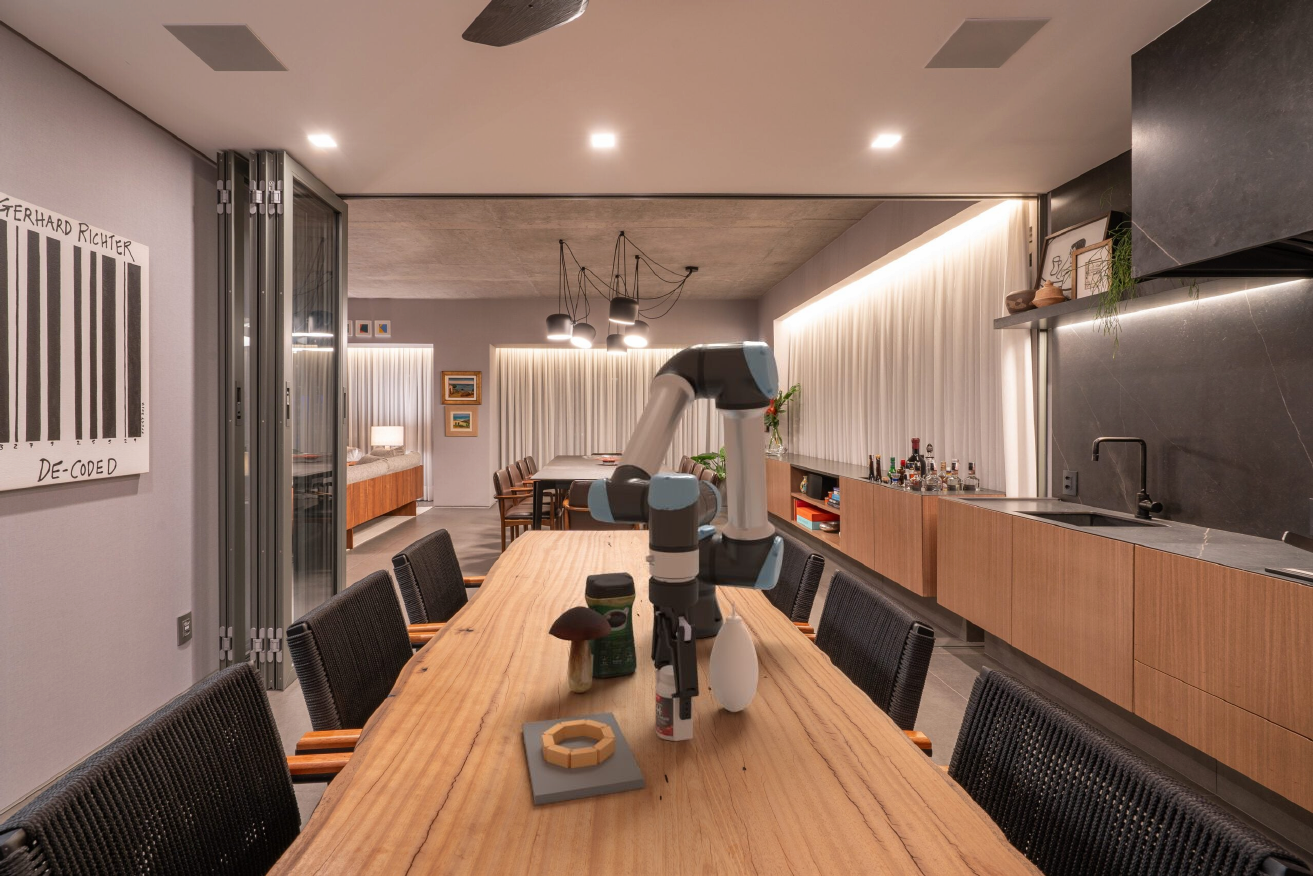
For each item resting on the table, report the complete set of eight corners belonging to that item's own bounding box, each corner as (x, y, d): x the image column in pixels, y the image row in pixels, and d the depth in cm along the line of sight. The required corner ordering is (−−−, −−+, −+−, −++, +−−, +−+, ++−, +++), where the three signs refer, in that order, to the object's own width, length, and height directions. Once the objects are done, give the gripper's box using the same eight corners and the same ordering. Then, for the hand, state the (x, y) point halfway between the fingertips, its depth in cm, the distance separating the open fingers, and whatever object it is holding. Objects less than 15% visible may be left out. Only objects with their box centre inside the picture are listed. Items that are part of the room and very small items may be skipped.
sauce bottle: (727, 724, 101) (727, 610, 101) (700, 705, 108) (701, 598, 108) (767, 714, 105) (767, 603, 104) (739, 696, 112) (739, 592, 111)
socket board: (612, 719, 103) (612, 701, 103) (644, 787, 84) (644, 764, 84) (522, 731, 99) (522, 711, 99) (534, 805, 80) (534, 781, 80)
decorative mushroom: (542, 685, 116) (542, 602, 116) (600, 675, 121) (600, 595, 120) (558, 710, 106) (557, 619, 106) (620, 698, 111) (620, 611, 110)
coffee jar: (629, 660, 128) (629, 567, 128) (640, 675, 121) (640, 576, 121) (581, 666, 125) (581, 571, 125) (589, 681, 118) (589, 580, 118)
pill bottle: (648, 734, 98) (648, 670, 98) (670, 722, 102) (670, 660, 102) (676, 746, 95) (676, 679, 94) (698, 732, 99) (698, 668, 98)
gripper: (632, 562, 107) (632, 698, 108) (670, 596, 86) (670, 763, 87) (675, 560, 109) (675, 693, 110) (723, 592, 89) (722, 755, 89)
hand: (673, 724), depth 98 cm, fingers open, 9 cm apart
